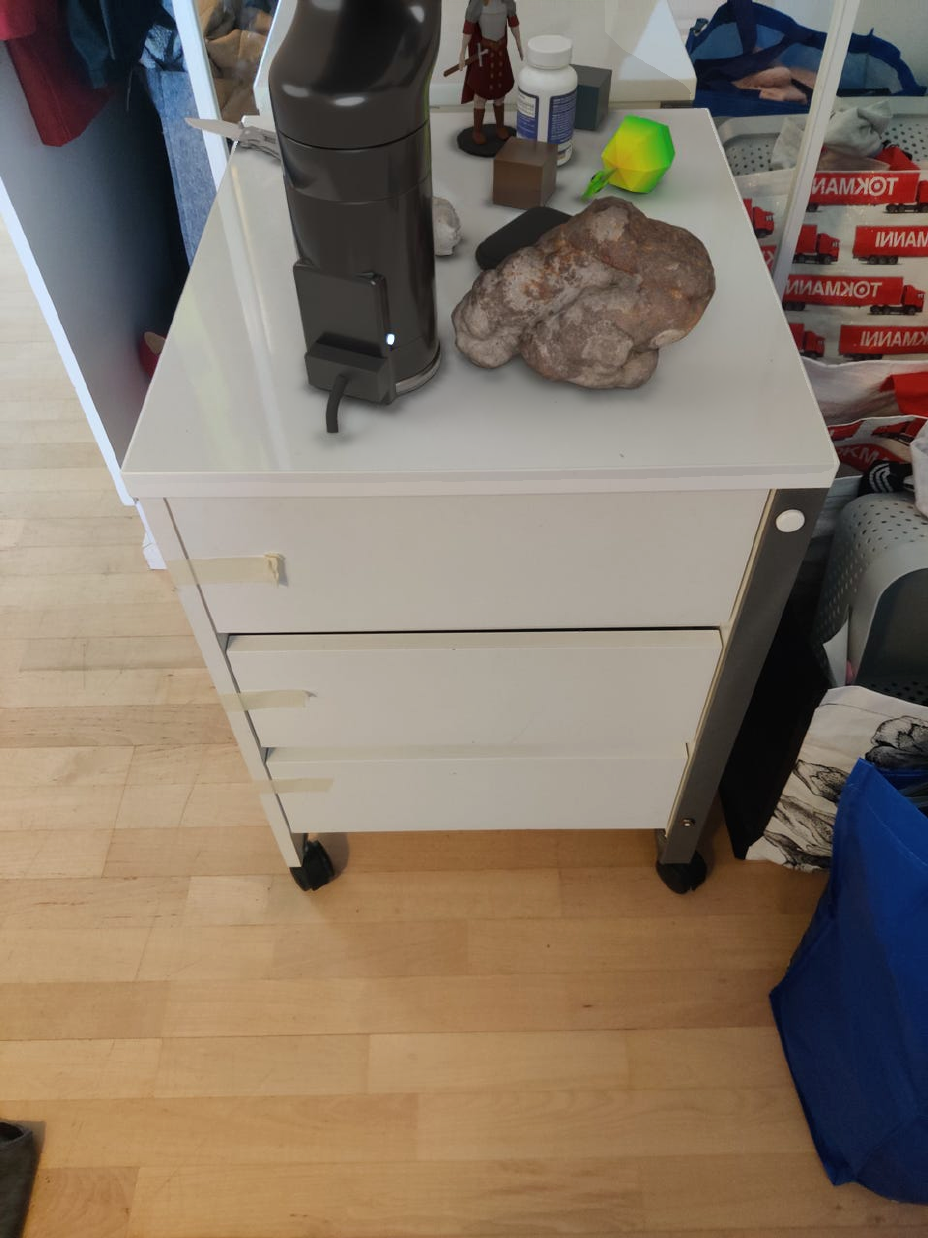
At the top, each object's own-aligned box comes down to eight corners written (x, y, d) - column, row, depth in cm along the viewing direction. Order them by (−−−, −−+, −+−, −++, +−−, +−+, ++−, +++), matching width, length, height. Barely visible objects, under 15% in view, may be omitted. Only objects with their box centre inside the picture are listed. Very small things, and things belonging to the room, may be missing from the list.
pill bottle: (572, 144, 88) (581, 31, 80) (570, 170, 84) (580, 55, 77) (517, 142, 88) (521, 29, 80) (513, 168, 85) (517, 53, 77)
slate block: (595, 130, 89) (599, 87, 86) (552, 123, 90) (554, 80, 87) (607, 112, 92) (612, 69, 89) (565, 105, 93) (568, 62, 90)
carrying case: (455, 281, 73) (608, 348, 67) (455, 246, 71) (613, 312, 65) (533, 227, 78) (681, 285, 72) (534, 192, 76) (688, 250, 70)
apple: (664, 86, 78) (607, 121, 74) (703, 151, 79) (649, 189, 75) (611, 135, 84) (556, 170, 80) (648, 195, 86) (595, 233, 81)
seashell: (442, 271, 74) (430, 223, 71) (342, 207, 83) (327, 161, 79) (482, 246, 75) (471, 197, 71) (378, 184, 84) (365, 138, 80)
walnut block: (539, 212, 80) (542, 166, 76) (492, 203, 81) (492, 157, 78) (555, 188, 82) (558, 143, 79) (509, 180, 83) (510, 135, 80)
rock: (518, 353, 74) (498, 450, 69) (440, 241, 65) (411, 344, 61) (740, 287, 64) (733, 395, 59) (682, 145, 55) (669, 259, 51)
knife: (177, 133, 90) (196, 119, 92) (314, 176, 84) (333, 160, 86) (171, 117, 89) (191, 103, 90) (310, 160, 83) (330, 144, 84)
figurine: (471, 162, 85) (470, -24, 74) (444, 130, 90) (439, -51, 78) (535, 149, 87) (544, -35, 75) (506, 118, 91) (510, -61, 79)
